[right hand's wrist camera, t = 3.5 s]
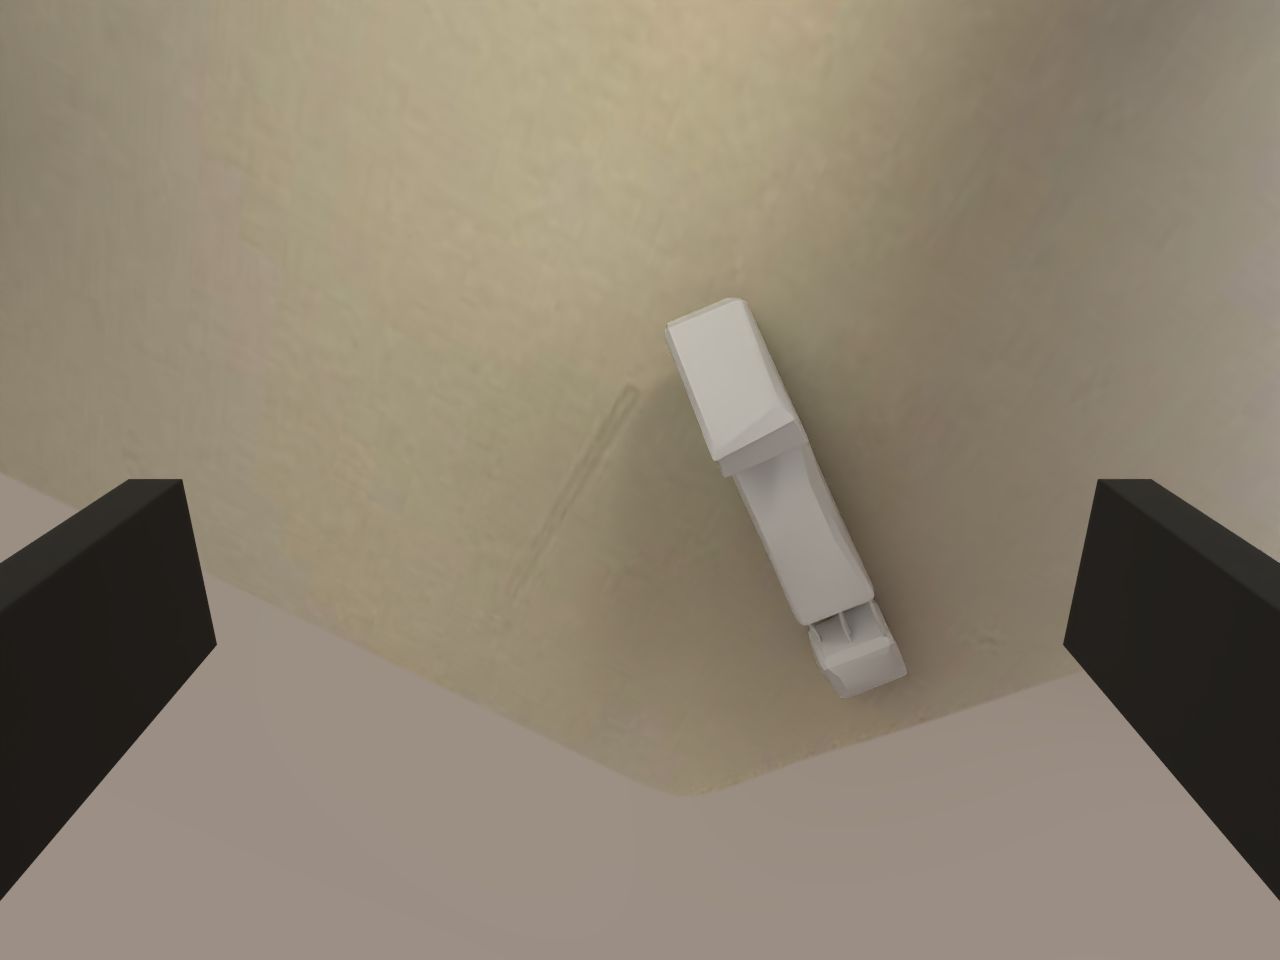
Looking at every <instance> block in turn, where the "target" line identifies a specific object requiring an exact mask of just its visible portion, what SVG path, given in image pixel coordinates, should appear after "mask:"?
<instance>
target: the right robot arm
mask: <svg viewBox="0 0 1280 960" xmlns="http://www.w3.org/2000/svg"><path fill="white" fill-rule="evenodd" d="M216 645H217V643H216V638H215V633H214V629H213V624H212V619H211V614H210V610H209V605H208V600H207V595H206V590H205V586H204V581H203V576H202V571H201V567H200V562H199V557H198V552H197V548H196V543H195V538H194V533H193V528H192V524H191V519H190V514H189V509H188V505H187V500H186V495H185V490H184V486H183V481H182V479H128V480H127V481H125V482H124V483H122V484H121V485H119V486H118V487H116V488H115V489H113V490H112V491H110V492H108V493H107V494H105V495H104V496H102V497H101V498H99V499H98V500H96V501H95V502H93V503H92V504H90V505H89V506H87V507H86V508H84V509H82V510H81V511H79V512H78V513H76V514H75V515H73V516H72V517H70V518H69V519H67V520H66V521H64V522H63V523H61V524H60V525H58V526H57V527H55V528H53V529H52V530H50V531H49V532H47V533H46V534H44V535H43V536H41V537H40V538H38V539H37V540H35V541H34V542H32V543H30V544H29V545H27V546H26V547H24V548H23V549H21V550H20V551H18V552H17V553H15V554H14V555H12V556H11V557H9V558H8V559H6V560H5V561H3V562H2V563H0V900H1V899H2V898H3V897H4V896H5V895H6V893H7V892H8V891H9V890H10V889H11V887H12V886H13V885H14V884H15V883H16V882H17V880H18V879H19V878H20V877H21V876H22V874H23V873H24V872H25V871H26V870H27V869H28V867H29V866H30V865H31V864H32V863H33V861H34V860H35V859H36V858H37V857H38V856H39V854H40V853H41V852H42V851H43V850H44V848H45V847H46V846H47V845H48V844H49V843H50V841H51V840H52V839H53V838H54V837H55V835H56V834H57V833H58V832H59V831H60V830H61V828H62V827H63V826H64V825H65V824H66V822H67V821H68V820H69V819H70V818H71V817H72V815H73V814H74V813H75V812H76V811H77V809H78V808H79V807H80V806H81V805H82V804H83V802H84V801H85V800H86V799H87V798H88V797H89V795H90V794H91V793H92V792H93V791H94V789H95V788H96V787H97V786H98V785H99V783H100V782H101V781H102V780H103V779H104V778H105V776H106V775H107V774H108V773H109V772H110V771H111V769H112V768H113V767H114V766H115V765H116V763H117V762H118V761H119V760H120V759H121V757H122V756H123V755H124V754H125V753H126V752H127V750H128V749H129V748H130V747H131V746H132V745H133V743H134V742H135V741H136V740H137V739H138V737H139V736H140V735H141V734H142V733H143V732H144V730H145V729H146V728H147V727H148V726H149V724H150V723H151V722H152V721H153V720H154V719H155V717H156V716H157V715H158V714H159V713H160V711H161V710H162V709H163V708H164V707H165V706H166V704H167V703H168V702H169V701H170V700H171V698H172V697H173V696H174V695H175V694H176V693H177V691H178V690H179V689H180V688H181V687H182V685H183V684H184V683H185V682H186V681H187V679H188V678H189V677H190V676H191V675H192V674H193V672H194V671H195V670H196V669H197V668H198V666H199V665H200V664H201V663H202V662H203V661H204V659H205V658H206V657H207V656H208V655H209V654H210V652H211V651H212V650H213V649H214V648H215V646H216ZM1063 645H1064V646H1065V648H1066V649H1067V650H1068V651H1069V652H1070V654H1071V655H1072V656H1073V657H1074V658H1075V659H1076V661H1077V662H1078V663H1079V664H1080V665H1081V667H1082V668H1083V669H1084V670H1085V671H1086V672H1087V674H1088V675H1089V676H1090V677H1091V678H1092V680H1093V681H1094V682H1095V683H1096V684H1097V685H1098V687H1099V688H1100V689H1101V690H1102V691H1103V693H1104V694H1105V695H1106V696H1107V697H1108V698H1109V700H1110V701H1111V702H1112V703H1113V704H1114V705H1115V707H1116V708H1117V709H1118V710H1119V711H1120V713H1121V714H1122V715H1123V716H1124V717H1125V719H1126V720H1127V721H1128V722H1129V723H1130V724H1131V726H1132V727H1133V728H1134V729H1135V730H1136V732H1137V733H1138V734H1139V735H1140V736H1141V737H1142V739H1143V740H1144V741H1145V742H1146V743H1147V745H1148V746H1149V747H1150V748H1151V749H1152V750H1153V752H1154V753H1155V754H1156V755H1157V756H1158V757H1159V759H1160V760H1161V761H1162V762H1163V763H1164V765H1165V766H1166V767H1167V768H1168V769H1169V770H1170V772H1171V773H1172V774H1173V775H1174V776H1175V778H1176V779H1177V780H1178V781H1179V782H1180V783H1181V785H1182V786H1183V787H1184V788H1185V789H1186V791H1187V792H1188V793H1189V794H1190V795H1191V797H1192V798H1193V799H1194V800H1195V801H1196V802H1197V803H1198V805H1199V806H1200V807H1201V808H1202V810H1203V811H1204V812H1205V813H1206V814H1207V815H1208V817H1209V818H1210V819H1211V820H1212V821H1213V823H1214V824H1215V825H1216V826H1217V827H1218V828H1219V830H1220V831H1221V832H1222V833H1223V834H1224V835H1225V837H1226V838H1227V839H1228V840H1229V841H1230V843H1231V844H1232V845H1233V846H1234V847H1235V848H1236V850H1237V851H1238V852H1239V853H1240V854H1241V856H1242V857H1243V858H1244V859H1245V860H1246V861H1247V863H1248V864H1249V865H1250V866H1251V867H1252V869H1253V870H1254V871H1255V872H1256V873H1257V874H1258V876H1259V877H1260V878H1261V879H1262V880H1263V882H1264V883H1265V884H1266V885H1267V886H1268V887H1269V889H1270V890H1271V891H1272V892H1273V893H1274V895H1275V896H1276V897H1277V898H1278V899H1279V900H1280V563H1279V562H1277V561H1276V560H1274V559H1272V558H1271V557H1269V556H1268V555H1266V554H1265V553H1263V552H1262V551H1260V550H1259V549H1257V548H1256V547H1254V546H1253V545H1251V544H1250V543H1248V542H1246V541H1245V540H1243V539H1242V538H1240V537H1239V536H1237V535H1236V534H1234V533H1233V532H1231V531H1230V530H1228V529H1227V528H1225V527H1224V526H1222V525H1220V524H1219V523H1217V522H1216V521H1214V520H1213V519H1211V518H1210V517H1208V516H1207V515H1205V514H1204V513H1202V512H1201V511H1199V510H1198V509H1196V508H1194V507H1193V506H1191V505H1190V504H1188V503H1187V502H1185V501H1184V500H1182V499H1181V498H1179V497H1178V496H1176V495H1175V494H1173V493H1172V492H1170V491H1168V490H1167V489H1165V488H1164V487H1162V486H1161V485H1159V484H1158V483H1156V482H1155V481H1153V480H1152V479H1098V481H1097V486H1096V490H1095V495H1094V500H1093V505H1092V509H1091V514H1090V519H1089V524H1088V528H1087V533H1086V538H1085V543H1084V548H1083V552H1082V557H1081V562H1080V567H1079V571H1078V576H1077V581H1076V586H1075V590H1074V595H1073V600H1072V605H1071V609H1070V614H1069V619H1068V624H1067V629H1066V633H1065V638H1064V643H1063Z"/></svg>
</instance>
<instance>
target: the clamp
mask: <svg viewBox="0 0 1280 960" xmlns="http://www.w3.org/2000/svg"><path fill="white" fill-rule="evenodd" d="M665 341H666V343H667V345H668V348H669V350H670V352H671V354H672V356H673V359H674V361H675V363H676V365H677V368H678V370H679V373H680V375H681V378H682V381H683V383H684V386H685V389H686V391H687V394H688V396H689V399H690V402H691V404H692V407H693V409H694V412H695V415H696V417H697V420H698V423H699V425H700V428H701V430H702V433H703V436H704V438H705V441H706V444H707V446H708V449H709V451H710V454H711V457H712V459H713V460H714V461H717V463H718V466H719V468H720V471H721V474H722V476H723V478H727V477H729V476H732V478H733V480H734V482H735V484H736V487H737V489H738V491H739V493H740V496H741V498H742V500H743V502H744V505H745V507H746V509H747V511H748V513H749V515H750V518H751V520H752V522H753V524H754V526H755V528H756V531H757V533H758V535H759V537H760V539H761V541H762V544H763V546H764V548H765V550H766V552H767V554H768V556H769V559H770V561H771V563H772V565H773V568H774V570H775V572H776V575H777V577H778V579H779V582H780V584H781V586H782V589H783V591H784V593H785V596H786V598H787V600H788V603H789V605H790V607H791V610H792V612H793V614H794V616H795V618H796V620H797V621H798V622H799V623H800V624H801V625H805V626H807V625H808V626H809V627H810V630H809V632H808V635H809V640H810V645H811V649H812V653H813V656H814V658H815V661H816V663H817V666H818V668H819V669H820V671H821V672H822V674H823V676H824V677H825V679H826V680H827V681H828V682H829V683H830V685H831V686H832V687H833V688H834V689H835V691H836V692H837V693H838V694H839V696H840V697H841V698H851V697H854V696H856V695H859V694H861V693H864V692H866V691H869V690H871V689H873V688H876V687H878V686H881V685H883V684H886V683H888V682H891V681H893V680H896V679H898V678H901V677H903V676H905V675H906V674H907V670H906V666H905V663H904V661H903V658H902V656H901V653H900V651H899V648H898V646H897V643H896V641H895V640H894V638H893V637H892V635H891V633H890V630H889V628H888V626H887V624H886V622H885V619H884V617H883V615H882V613H881V610H880V608H879V606H878V604H877V603H876V601H875V600H874V599H873V597H874V588H873V585H872V583H871V581H870V578H869V576H868V574H867V572H866V570H865V567H864V565H863V563H862V561H861V559H860V557H859V554H858V552H857V550H856V548H855V546H854V543H853V541H852V539H851V537H850V535H849V532H848V530H847V528H846V526H845V524H844V521H843V519H842V517H841V515H840V513H839V510H838V508H837V506H836V503H835V501H834V499H833V497H832V494H831V492H830V490H829V488H828V485H827V483H826V481H825V478H824V476H823V474H822V472H821V469H820V467H819V465H818V462H817V460H816V458H815V455H814V453H813V450H812V448H811V446H810V443H809V439H808V437H807V435H806V433H805V431H804V428H803V426H802V423H801V421H800V419H799V417H798V415H797V413H796V411H795V408H794V406H793V404H792V402H791V400H790V398H789V396H788V393H787V391H786V389H785V387H784V385H783V382H782V380H781V378H780V376H779V373H778V371H777V369H776V367H775V364H774V362H773V360H772V358H771V355H770V353H769V351H768V349H767V346H766V344H765V342H764V340H763V337H762V335H761V333H760V331H759V328H758V326H757V324H756V322H755V319H754V317H753V315H752V313H751V310H750V308H749V306H748V304H747V301H744V300H742V299H739V298H731V297H728V298H725V299H723V300H720V301H718V302H716V303H713V304H711V305H709V306H706V307H704V308H702V309H699V310H697V311H694V312H692V313H690V314H687V315H685V316H683V317H680V318H678V319H676V320H673V321H671V322H668V323H667V326H666V330H665ZM837 613H838V614H837ZM835 614H837V615H835ZM832 615H835V616H834V617H832V618H831V619H829V620H827V621H825V622H823V623H820V624H818V625H816V626H814V625H813V624H812V623H814V622H817V621H819V620H822V619H825V618H827V617H830V616H832Z"/></svg>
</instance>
